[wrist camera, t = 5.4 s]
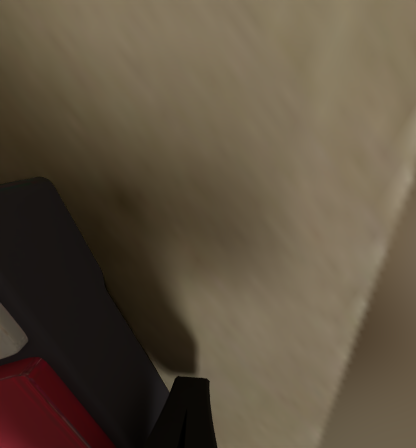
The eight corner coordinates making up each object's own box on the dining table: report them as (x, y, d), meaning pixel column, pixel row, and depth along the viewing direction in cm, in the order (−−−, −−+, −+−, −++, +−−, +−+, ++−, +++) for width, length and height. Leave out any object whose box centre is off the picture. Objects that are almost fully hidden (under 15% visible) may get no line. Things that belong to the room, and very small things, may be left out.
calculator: (-27, 587, 10) (-414, 347, 6) (42, 462, 15) (-158, 263, 10) (198, 567, 9) (-115, 201, 4) (205, 431, 13) (50, 171, 8)
